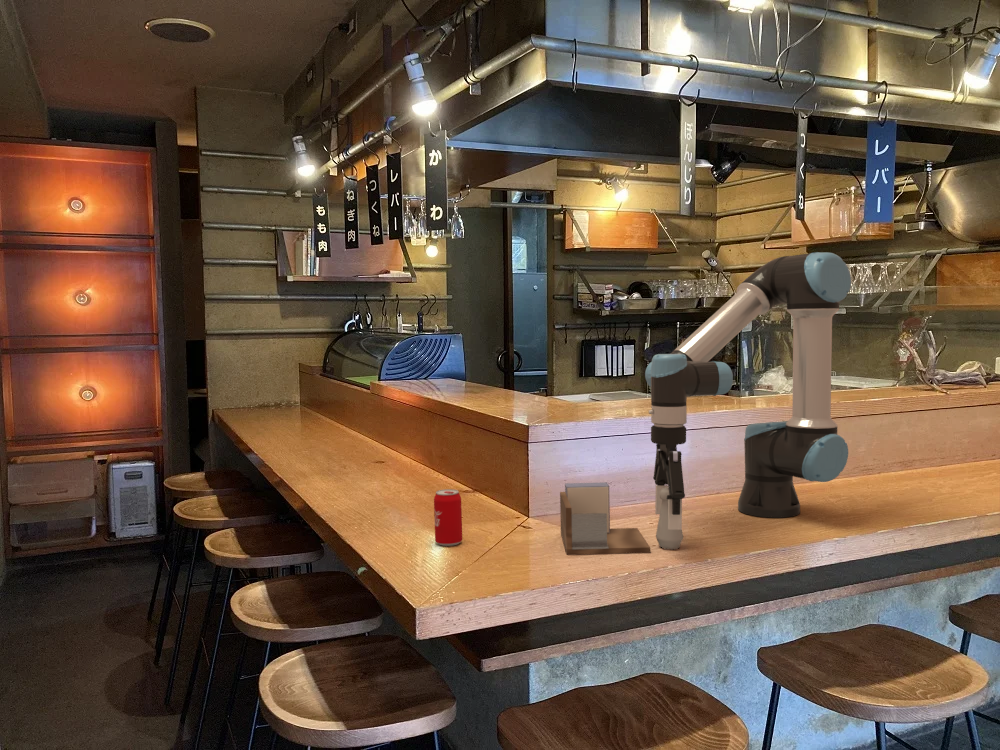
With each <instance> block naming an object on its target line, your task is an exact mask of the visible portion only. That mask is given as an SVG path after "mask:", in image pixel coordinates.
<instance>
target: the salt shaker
mask: <svg viewBox="0 0 1000 750" xmlns="http://www.w3.org/2000/svg"><path fill="white" fill-rule="evenodd" d="M667 495H669V488H663V489H661V490H660V492H659V497H660V499H662V504H661V510H660V514H658V515H659V516H658V523H657V527H656V533H655V538H656V541H657V543H658V545H659V548H661V547H662V549H663V548H664V549H663V550H669V549H671V550H670V551H672V550H673V549H674V550H678V548H679V549H680V546H681V543H682V541H683V539H684V533H683V529H682V530H669V529H668V499H666V498H667Z"/></svg>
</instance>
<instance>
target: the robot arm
mask: <svg viewBox="0 0 1000 750" xmlns="http://www.w3.org/2000/svg"><path fill="white" fill-rule="evenodd" d="M851 285H852V276H851V272H850V269H849V267H848V265H847V263H846V262H845V261H843V258H842V257H841V256H839V255H837V254H835V253H833V252H827V251H826V252H821V251H820V252H818V251H816V252H809V253H802V254H801V253H800V254H795V255H784V256H780V257H779V256H778V257H776V258H774V259H771V260H770V261H768V262H766V263H765V264H763V265H762V266H761V267H759V268H758V269H756V270H755V271H754V272H753V273H751V274H750V275H749V276H748V277H747V278H745V279H744V280H743V281H742V282H741V283H740V284H739V285H738V286H737V287H736V293H734V295H733V296H731V297H730V298H729V300H727V302H725V303H724V304H722V306H721V307H720V308H719V309H717V310H716V311H715V312H714V313H713V314H712V315H711V316H710V317H709V318H707V320H705V322H703V323H702V324H701V325H700V326H699V327H698V328H697V329H696V330H695V331H693V332H692V333H691V334H690V335H689V336H688V337H687V338H685V340H684V341H683V342H681V343H680V345H678V346H677V347H676V348H675V349H673V351H672V352H671V353H658V354H655V355H653V357H652V359H651V362H649V363H648V365H647V367H646V368H645V373H644V376H645V380H646V383H647V386H649V387H650V392H651V393H650V398H651V399H650V401H651V402H650V403H651V404H650V405H651V409H648V414H649V415H651V416H650V417H651V418H650V419H651V420H650V422H651V424H653V425H651V426H650V441H651V442H652V444H656V445H655V447H656V452H655V453H656V454H655V461H654V469H653V470H654V471H653V476H652V478H653V481H654V484H655V496H654V497H655V499H654V500H655V502H654V503H655V505H654V506H655V510H654V511H655V513H654V514H655V515H660V510H661V504H662V499H660V497H659V492H660V490H661V489H663V488H669V495H667V498H666V499H668V529H669V530H682V531H683V529H682V527H683V525H682V523H683V515H682V514H683V499H685V497H686V493H685V486H684V485H685V484H684V474H683V464H682V451H680V450H679V451H678V447H677V446H678V445H684V444H685V443H686V442H687V427H686V426H685V425H686V424H687V420H688V419H687V415H688V414H687V413H688V412H687V411H688V410H687V402H688V401H687V398H690V397H703V396H704V397H706V396H713V397H716V396H720V395H721V396H722V395H725V394H727V393H729V391H730V390H731V389H732V386H733V384H734V374H733V371H732V369H731V367H730V366H729V365H728V364H727V363H726V362H722V361H715V360H712V361H711V359H713V358H714V357H715V356H716V355H717V354H718V353H719V352H720V351H721V350H722V349H723V348H724V347H725V346H726V345H727V344H729V343H730V342H731V341H732V340H733V339H734V338H735V337H736V336H737V335H738V334H739V333H741V332H742V330H744V329H745V328H746V327H747V326H748V325H749V324H750V323H751V322H752V321H753V320H755V319H756V318H757V316H759V315H760V316H761V315H765V314H767V313H768V312H769V311H770V310H771V309H773V308H775V307H777V306H780V305H784V304H786V312H787V313H788V314H790V315H791V316H792V319H793V324H792V325H793V326H792V327H793V329H792V332H793V333H792V334H793V337H792V340H793V341H792V408H791V409H792V416H791V418H790V419H788V420H786V421H785V420H783V421H767V422H756V423H750V424H748V425H747V426H746V427H745V429H744V431H745V432H744V433H745V434H744V441H743V442H744V477H745V478H744V482H743V486H742V488H741V492H740V495H739V497H738V500H737V510H738V512H741V513H742V514H746V515H749V516H754V517H760V518H775V519H776V518H789V517H795V516H798V515H800V513H801V502H800V500H799V497H798V494H797V491H796V489H795V485H794V481H793V480H794V478H799V479H803V480H806V481H809V482H819V483H828V482H831V481H833V480H834V479H836V478H837V477H838V476H840V474H841V472H843V471H844V469H845V467H846V465H847V463H848V459H849V447H848V443H847V442H846V440H845V438H843V437H842V436H841V435H839V434H838V424H837V422H835V421H834V420H833V418H832V417H831V414H832V404H831V403H832V355H833V352H832V351H833V349H832V347H833V346H832V345H833V341H832V340H833V317H834V315H836V313H837V312H839V311H840V302H841V301H843V300H844V299H845V298H846V297H847V296H848V293H850V290H851Z"/></svg>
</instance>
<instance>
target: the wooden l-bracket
mask: <svg viewBox="0 0 1000 750" xmlns="http://www.w3.org/2000/svg"><path fill="white" fill-rule="evenodd" d="M559 503H560V504H559V506H560V508H559V512H560V513H559V514H560V537H561V540H562V543H563V547H564V550H565V554H566V556H567V555H568V556H570V555H573V556H575V555H578V556H579V555H612V554H613V555H614V554H615V555H616V554H618V555H619V554H620V555H621V554H651V546H650V545H649V543H648V541H647V540H646V538H645V537H644V536H643V534H642V533H641V531H640V529H639V528H638V527H624V528H623V527H621V528H610V533H607V545H608V547H609V549H572V511H571V505H570V503H569V500H568V498H567V495H566V493H565V491H560V492H559Z"/></svg>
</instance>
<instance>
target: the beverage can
mask: <svg viewBox="0 0 1000 750" xmlns="http://www.w3.org/2000/svg"><path fill="white" fill-rule="evenodd" d="M433 511H434V512H433V513H434V541H435V543H436V544H438V545H440V546H443V547H454V546H457V545H459V544H460V543H462V541H463V521H462V520H463V518H462V516H463V513H462V512H463V511H462V496H461V494H460V492H459V490H457V489H452V488H450V489H449V488H447V489H440V490H437V491H435V495H434V497H433Z"/></svg>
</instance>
